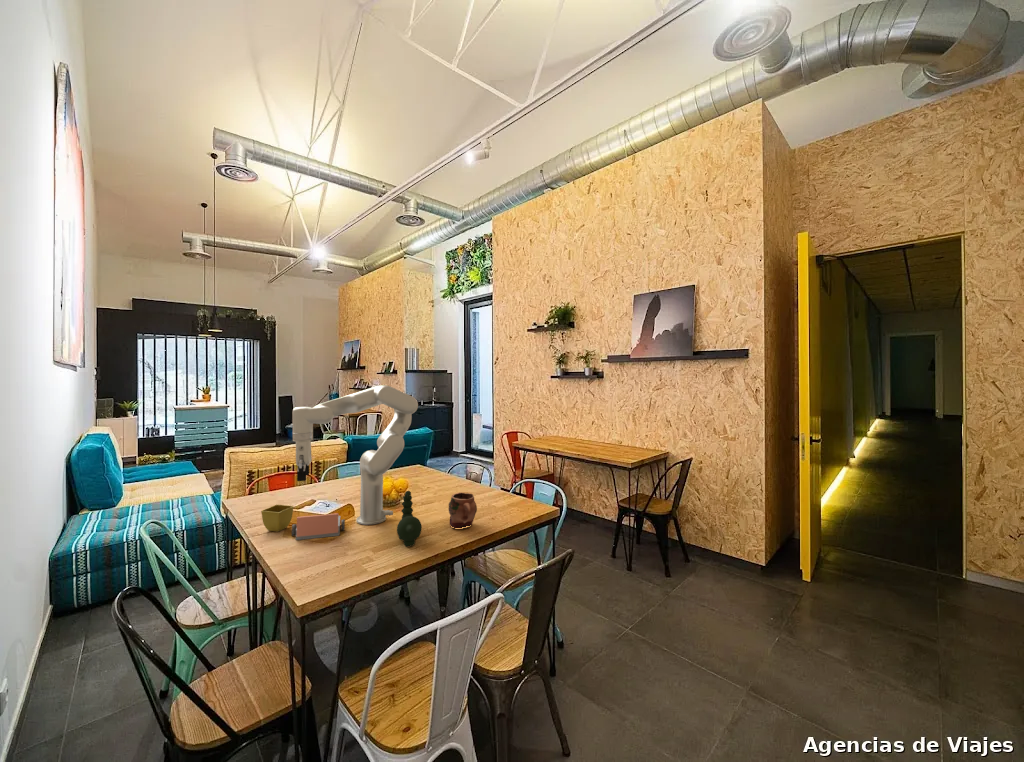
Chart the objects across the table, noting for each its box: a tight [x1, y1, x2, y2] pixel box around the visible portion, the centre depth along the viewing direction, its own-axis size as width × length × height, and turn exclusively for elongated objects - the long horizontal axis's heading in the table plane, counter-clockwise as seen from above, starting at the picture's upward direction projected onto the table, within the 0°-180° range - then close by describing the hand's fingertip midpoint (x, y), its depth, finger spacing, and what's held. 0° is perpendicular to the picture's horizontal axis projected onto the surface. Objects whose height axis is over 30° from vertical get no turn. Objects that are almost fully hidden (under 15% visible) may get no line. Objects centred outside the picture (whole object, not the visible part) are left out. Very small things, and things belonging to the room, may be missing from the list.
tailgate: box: [295, 512, 340, 539], centre depth 169 cm, size 1×16×8 cm, turn 111°
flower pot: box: [260, 504, 294, 532], centre depth 178 cm, size 9×9×9 cm
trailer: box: [291, 515, 346, 541], centre depth 177 cm, size 16×20×4 cm
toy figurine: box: [396, 490, 423, 547], centre depth 169 cm, size 9×19×25 cm
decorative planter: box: [448, 492, 478, 528], centre depth 185 cm, size 20×12×14 cm, turn 29°
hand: (303, 477), depth 175 cm, fingers open, 9 cm apart
